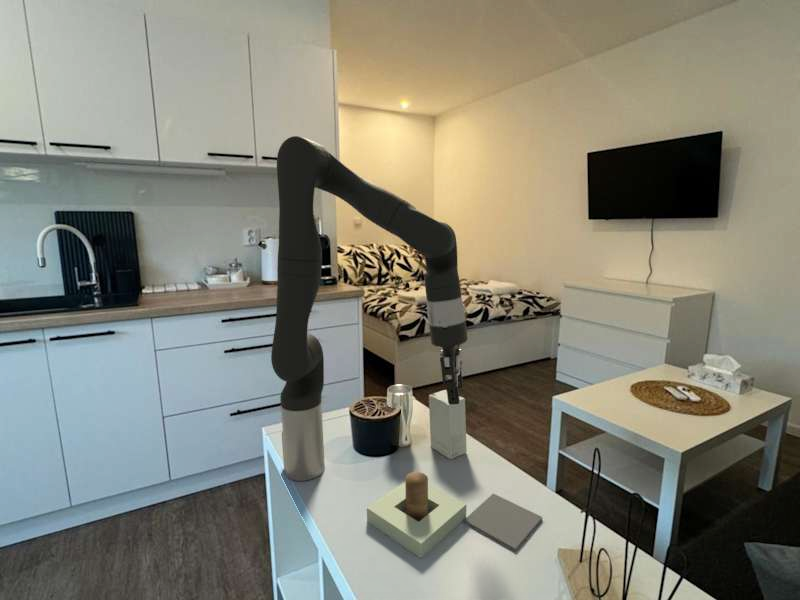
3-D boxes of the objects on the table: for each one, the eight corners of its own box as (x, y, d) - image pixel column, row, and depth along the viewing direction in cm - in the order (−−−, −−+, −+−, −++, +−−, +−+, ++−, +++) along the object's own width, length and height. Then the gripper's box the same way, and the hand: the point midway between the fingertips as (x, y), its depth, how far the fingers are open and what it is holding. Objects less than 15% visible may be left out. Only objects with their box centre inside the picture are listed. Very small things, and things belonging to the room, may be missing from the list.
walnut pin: (401, 520, 84) (400, 479, 82) (415, 509, 87) (415, 469, 85) (418, 530, 81) (417, 488, 79) (432, 518, 84) (432, 478, 82)
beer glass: (383, 445, 111) (382, 392, 109) (393, 433, 118) (392, 382, 115) (408, 450, 109) (407, 395, 106) (416, 437, 115) (416, 385, 113)
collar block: (367, 521, 83) (366, 507, 83) (413, 488, 93) (413, 476, 93) (421, 558, 74) (421, 543, 73) (466, 517, 84) (466, 504, 83)
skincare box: (466, 453, 107) (467, 398, 104) (448, 461, 104) (449, 404, 101) (445, 439, 114) (446, 388, 111) (428, 446, 111) (428, 393, 108)
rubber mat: (464, 522, 83) (464, 519, 82) (493, 495, 90) (493, 493, 90) (515, 551, 75) (515, 548, 75) (542, 519, 83) (542, 516, 83)
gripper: (433, 314, 94) (442, 383, 96) (422, 330, 80) (433, 410, 82) (467, 311, 92) (476, 382, 94) (462, 326, 78) (472, 409, 80)
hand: (456, 395), depth 88 cm, fingers open, 8 cm apart
